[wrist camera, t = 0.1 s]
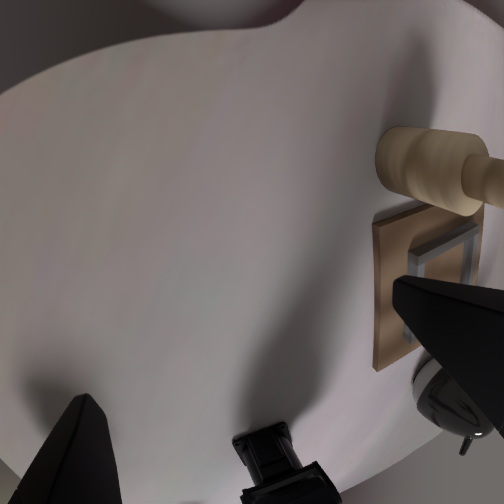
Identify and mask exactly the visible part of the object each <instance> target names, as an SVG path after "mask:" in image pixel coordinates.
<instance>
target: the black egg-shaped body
mask: <svg viewBox="0 0 504 504" xmlns="http://www.w3.org/2000/svg"><path fill="white" fill-rule="evenodd" d="M413 398H414V401H415V403H416V405H417V410H418V411H419V412H420V413H421V414H422V415H423V416H424V417H425V418H427V419H428V420H429V421H431V422H432V423H434V424H435V425H437V426H438V427H440V428H442V429H443V430H445V431H447V432H450V433H452V434H454V435H458V436H461V437H464V441H463V444H462V446H461V449H460V451H459V454H460V455H461V456H464V455H465V454H466V452H467V450H468V448H469V446H470V445H471V443H472V441H473V439H481V438H484V437H486V436H487V435H489V434H490V433H491V432H492V431H493V430H494V428H495V427H494V426H493V425H492V424H491V422H490V421H489V420H488V419H487V418H486V416H485V415H484V414H483V413H482V412H481V411H480V409H479V408H478V407H477V406H476V405H475V404H474V402H473V401H472V400H471V399H470V398H469V397H468V395H467V394H466V393H465V392H464V391H463V390H462V389H461V388H460V386H459V385H458V384H457V383H456V382H455V381H454V380H453V379H452V377H451V376H450V375H449V374H448V373H447V372H446V371H445V370H444V369H443V368H442V366H441V365H440V364H439V363H438V362H437V361H436V360H435V359H434V358H432V359H431V360H430V361H428V362H427V363H426V364H425V365H424V366H423V367H422V369H421V370H420V371H419V373H418V375H417V376H416V378H415V381H414V384H413Z"/></svg>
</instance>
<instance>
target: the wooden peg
mask: <svg viewBox="0 0 504 504" xmlns="http://www.w3.org/2000/svg"><path fill="white" fill-rule="evenodd" d="M375 165H376V171H377V175H378V177H379V179H380V181H381V183H382V184H383V186H384V187H385V188H387V189H388V190H389V191H392V192H395V193H398V194H401V195H404V196H407V197H411V198H414V199H417V200H420V201H423V202H426V203H429V204H432V205H435V206H438V207H440V208H443V209H446V210H449V211H452V212H454V213H457V214H460V215H463V216H470V215H472V214H474V213H475V212H476V211H477V210H478V209H479V208H480V206H481V205H482V203H483V202H485V203H488V204H490V205H493V206H496V207H499V208H502V209H504V160H501V159H497V158H492V157H489V154H488V150H487V148H486V145H485V143H484V142H483V140H482V139H481V138H480V137H479V136H477V135H475V134H469V133H462V132H454V131H446V130H436V129H426V128H414V127H393V128H391V129H389V130H388V131H386V132H385V133H384V135H383V136H382V137H381V139H380V141H379V143H378V146H377V150H376V156H375Z"/></svg>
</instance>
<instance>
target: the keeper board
mask: <svg viewBox="0 0 504 504" xmlns="http://www.w3.org/2000/svg"><path fill="white" fill-rule="evenodd" d="M483 220H484V202H483V203H482V205H481V206H480V208H479V209H478V210H477V211H476V212H475V213H474V214H472V215H470V216H463V215H460V214H457V213H454V212H452V211H449V210H446V209H443V208H440V207H438V206H435V205H432V204H429V203H428V204H425V205H423V206H420V207H417V208H415V209H412V210H409V211H406V212H404V213H401V214H398V215H396V216H393V217H390V218H388V219H385V220H382V221H379V222H377V223H374V224H372V232H373V251H374V285H375V316H374V350H373V368H374V369H375V370H376V371H377V372H378V371H380V370H382V369H384V368H385V367H387V366H389V365H390V364H392V363H394V362H395V361H397V360H399V359H400V358H402V357H404V356H405V355H407V354H408V353H410V352H411V351H413V350H415V349H416V348H418V347H419V346H421V343H420V342H419V341H418V340H417V338H416V337H415V336H414V335H413V333H412V332H411V331H410V329H409V328H408V327H407V325H406V324H405V323H404V321H403V320H402V319H401V318H400V316H399V315H398V314H397V313H396V311H395V310H394V308H393V305H392V287H393V281H394V280H395V279H397V278H399V277H401V276H403V275H410V276H417V277H423V278H429V279H436V280H442V281H448V282H455V283H461V284H467V285H474V286H476V280H477V274H478V267H479V260H480V252H481V243H482V232H483Z"/></svg>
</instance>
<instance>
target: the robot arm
mask: <svg viewBox="0 0 504 504" xmlns="http://www.w3.org/2000/svg"><path fill="white" fill-rule="evenodd" d="M392 305H393V308H394V310H395V311H396V313H397V314H398V315H399V316H400V318H401V319H402V320H403V321H404V323H405V324H406V325H407V327H408V328H409V329H410V331H411V332H412V333H413V335H414V336H415V337H416V338H417V340H418V341H419V342H420V343H421V345H422V346H423V347H424V348H425V349H426V350H427V351H428V352H429V353H430V355H431V356H432V357H433V358H434V359H435V360H436V361H437V362H438V363H439V364H440V365H441V366H442V368H443V369H444V370H445V371H446V372H447V373H448V374H449V375H450V376H451V377H452V379H453V380H454V381H455V382H456V383H457V384H458V385H459V386H460V388H461V389H462V390H463V391H464V392H465V393H466V394H467V395H468V397H469V398H470V399H471V400H472V401H473V402H474V404H475V405H476V406H477V407H478V408H479V409H480V411H481V412H482V413H483V414H484V415H485V416H486V418H487V419H488V420H489V421H490V422H491V424H492V425H493V426H494V427H495V428H496V430H497V431H499V433H500V435H501V436H502V437H503V438H504V290H499V289H492V288H486V287H480V286H474V285H467V284H461V283H455V282H448V281H442V280H436V279H429V278H423V277H417V276H410V275H403V276H401V277H399V278H397V279H395V280H394V281H393V287H392ZM232 444H233V447H234V448H235V450H236V452H237V454H238V455H239V457H240V459H241V460H242V462H243V464H244V465H245V466H247V468H248V471H249V473H250V475H251V478H252V480H253V482H254V485H255V486H254V487H251V488H248V489H247V488H246V489H243V490H242V492H243V495H242V496H240V499H241V501H242V504H342V500H341V497H340V495H339V493H338V491H337V489H336V487H335V486H334V484H333V483H332V481H331V480H330V479H329V477H328V476H327V474H326V473H325V472H324V470H323V469H322V468H321V466H320V465H319V464H318V462H317V461H314V462H312V464H310V465H307V466H305V467H303V466H302V464H301V462H300V460H299V459H298V457H297V455H296V453H295V452H294V450H293V446H292V442H291V438H290V434H289V431H288V427H287V424H286V423H285V422H281V423H278V424H276V425H274V426H271V427H269V428H266V429H264V430H261V431H258V432H256V433H253V434H250V435H248V436H245V437H242V438H239V439H236V440H234V441H233V442H232ZM8 504H122V499H121V493H120V486H119V479H118V472H117V466H116V461H115V457H114V452H113V448H112V443H111V438H110V433H109V428H108V423H107V418H106V415H105V413H104V412H103V410H102V409H101V408H100V407H99V405H98V404H97V403H96V401H95V400H94V399H93V398H92V396H91V395H89V394H87V393H85V394H81V395H77V396H75V397H74V398H73V399H72V401H71V402H70V404H69V405H68V407H67V408H66V410H65V411H64V413H63V414H62V416H61V417H60V419H59V420H58V422H57V423H56V425H55V426H54V428H53V430H52V431H51V433H50V434H49V436H48V437H47V439H46V441H45V442H44V444H43V445H42V447H41V448H40V450H39V452H38V453H37V455H36V456H35V458H34V460H33V461H32V463H31V465H30V466H29V468H28V470H27V471H26V473H25V475H24V476H23V478H22V480H21V481H20V483H19V485H18V487H17V489H16V490H15V492H14V493H13V495H12V497H11V499H10V500H9V502H8Z"/></svg>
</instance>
